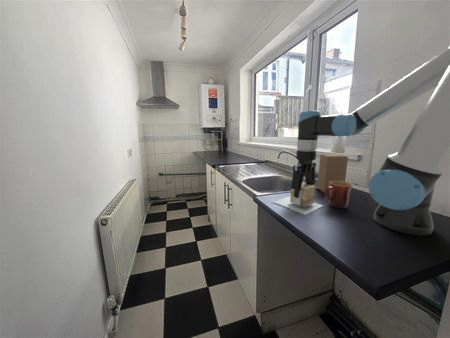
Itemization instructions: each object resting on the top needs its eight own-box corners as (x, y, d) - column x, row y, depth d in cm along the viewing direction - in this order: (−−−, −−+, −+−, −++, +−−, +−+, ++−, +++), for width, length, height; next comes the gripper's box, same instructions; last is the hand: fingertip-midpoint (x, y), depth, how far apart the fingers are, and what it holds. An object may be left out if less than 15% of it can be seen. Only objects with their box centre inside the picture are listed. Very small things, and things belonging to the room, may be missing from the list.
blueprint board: (323, 206, 81) (323, 205, 81) (305, 215, 73) (305, 214, 73) (291, 196, 93) (291, 195, 93) (273, 202, 85) (273, 201, 85)
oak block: (313, 203, 81) (315, 185, 79) (304, 207, 77) (306, 189, 75) (299, 198, 86) (300, 182, 84) (290, 202, 82) (291, 184, 80)
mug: (335, 200, 87) (338, 179, 85) (354, 208, 79) (357, 185, 77) (316, 204, 83) (318, 182, 81) (334, 212, 75) (337, 188, 73)
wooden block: (334, 188, 105) (338, 153, 101) (344, 194, 95) (349, 156, 91) (316, 188, 106) (319, 153, 102) (323, 194, 96) (327, 155, 92)
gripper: (310, 147, 85) (306, 194, 90) (283, 151, 74) (280, 205, 78) (327, 149, 79) (322, 199, 84) (301, 152, 68) (296, 211, 72)
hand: (302, 202), depth 81 cm, fingers closed on oak block, 7 cm apart
